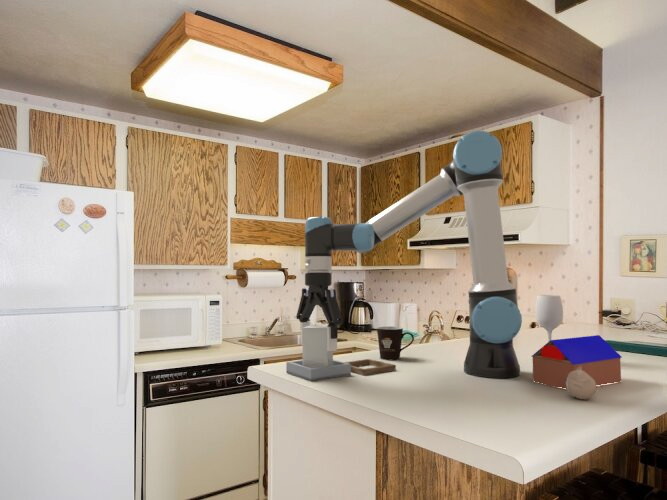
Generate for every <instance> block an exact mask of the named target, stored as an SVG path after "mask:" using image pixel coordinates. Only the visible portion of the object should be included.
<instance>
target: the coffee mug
mask: <svg viewBox="0 0 667 500" xmlns="http://www.w3.org/2000/svg"><path fill="white" fill-rule="evenodd" d="M403 331H404V327H402V326H387V325H386V326H378V327H376V334H377V340H378V341H377V343H378V349H379V356H380V357H379V358H380V360H385V361H396V360H397V359H398V360H400V359H401V352H402V351H403V350H404V349H406V348H408V347H409V346H411V345H412V344H413V342H414V340H415V338H414V334H413V333H411V332H409V331H406V332H404V333H403ZM405 335H409V336H410V337H411V341H410V342H409V343H408V344H407V345H405V346H403V347H402V340H403V339H404V336H405Z"/></svg>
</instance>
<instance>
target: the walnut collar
mask: <svg viewBox="0 0 667 500" xmlns="http://www.w3.org/2000/svg"><path fill="white" fill-rule="evenodd" d="M344 362H345V363H349V364H351V373H354V374H358V375H361V376H368V375H375V374H380V373H389V372H394V371H396V370H397V368H396V367H397V366H396V364H394V363H393V364H392V363H388V362H383V361H379V360H377V359H372V358H367V359H360V360H359V359H358V360H352V361H344ZM368 365H369V366H372V367H368V368H362V367H361V366H368Z"/></svg>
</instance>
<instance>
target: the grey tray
mask: <svg viewBox="0 0 667 500" xmlns="http://www.w3.org/2000/svg"><path fill="white" fill-rule="evenodd" d="M345 362H346V361H341V360H338V359H337V360H336V359H333V366H326V367H319V368H309V367H306V366H303V365H302V359H301V360H300V359H298V360H292V361H291V360H290V361H286V362H285V363H286V365H285V367H286V369H285V370H286V372H287V373H286V374H289V375H292V376H296V377H298V378H300V377H301V379H303V378H304V380H306V381H310V382H315V381H320V380H321V381H322V380H326V379H333V378H338V377H339V378H341V377H346V376H351V373H352V372H351V364H349V363H345Z"/></svg>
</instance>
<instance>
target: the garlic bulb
mask: <svg viewBox="0 0 667 500" xmlns="http://www.w3.org/2000/svg"><path fill="white" fill-rule="evenodd" d="M581 369H582V367H581V365H580V366H579V367H577V368H576V370H574V371H571V372H570V373H569V374H568V378H567V379H566V382H565V383H566V388H567V390H566V391H567V393H568V394H569V395H570V396H572V397H573V398H575V397H576V398H575V399H579V400H582V399H586V400H589V399H591V398H592V397H593V396H594V395H595V394H596V390H597V387H596V382H595V380H594V379H593V378H591V377H590V376H589V375H588V374H587V373H586V372H584V371H582V370H581Z"/></svg>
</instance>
